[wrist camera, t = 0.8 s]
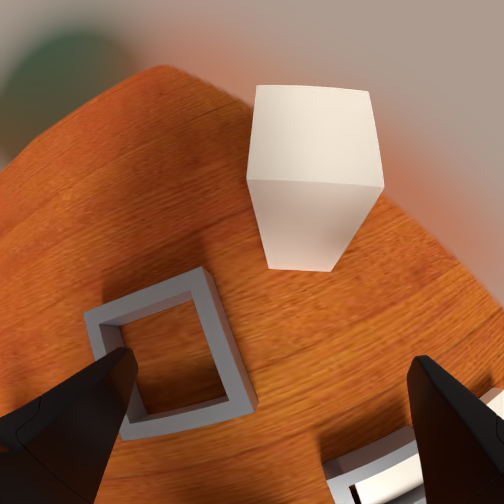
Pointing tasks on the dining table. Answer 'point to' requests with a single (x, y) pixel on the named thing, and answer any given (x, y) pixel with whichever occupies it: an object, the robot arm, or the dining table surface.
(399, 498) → the cap with slat
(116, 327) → the grey square frame
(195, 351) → the dining table surface
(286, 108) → the white rectangular block
